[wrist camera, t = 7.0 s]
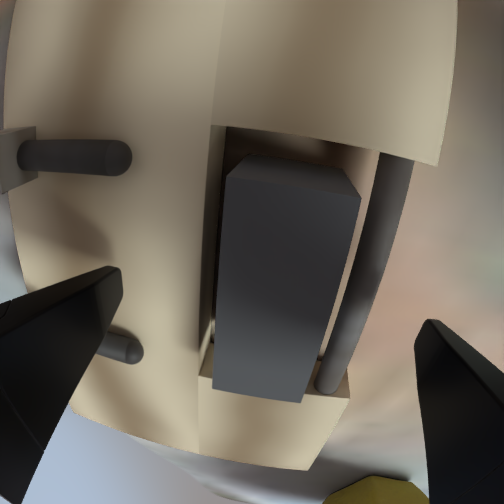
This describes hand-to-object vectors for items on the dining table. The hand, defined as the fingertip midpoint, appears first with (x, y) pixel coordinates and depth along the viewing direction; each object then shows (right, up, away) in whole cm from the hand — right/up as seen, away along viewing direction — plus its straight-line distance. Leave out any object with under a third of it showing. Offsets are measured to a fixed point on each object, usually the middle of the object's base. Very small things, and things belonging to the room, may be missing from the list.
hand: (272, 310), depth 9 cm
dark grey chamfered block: (0, +1, +3) cm, 3 cm away
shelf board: (-3, +2, +3) cm, 4 cm away
